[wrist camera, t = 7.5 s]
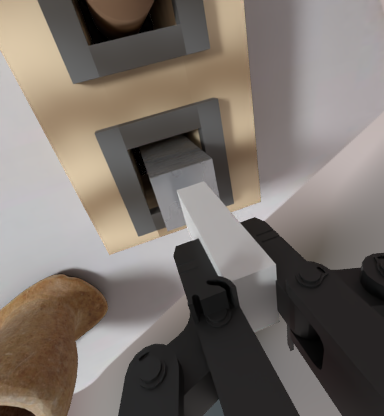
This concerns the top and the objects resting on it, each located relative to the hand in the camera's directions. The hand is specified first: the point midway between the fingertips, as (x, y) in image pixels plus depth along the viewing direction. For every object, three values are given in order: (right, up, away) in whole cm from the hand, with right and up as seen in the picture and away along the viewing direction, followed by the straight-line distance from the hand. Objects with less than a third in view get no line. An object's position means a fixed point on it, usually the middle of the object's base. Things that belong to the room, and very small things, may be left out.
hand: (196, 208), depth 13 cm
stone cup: (-19, -13, +18) cm, 29 cm away
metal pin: (-3, +5, +9) cm, 10 cm away
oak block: (-5, +11, +9) cm, 15 cm away
